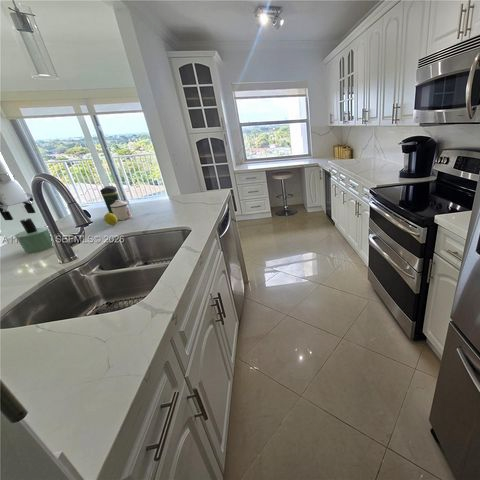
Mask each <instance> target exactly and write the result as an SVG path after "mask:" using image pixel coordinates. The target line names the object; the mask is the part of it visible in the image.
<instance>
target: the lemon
mask: <svg viewBox="0 0 480 480" xmlns="http://www.w3.org/2000/svg"><path fill="white" fill-rule="evenodd" d="M103 219H104V222H105V223H106V225H109V226H112V227H114V226H115V225H116V224H117V223H118V220H117V218H116V216H115V215H114V214H112V213H109V212H107V213H106V214H105V215H104V217H103Z"/></svg>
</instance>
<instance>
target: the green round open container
mask: <svg viewBox="0 0 480 480" xmlns="http://www.w3.org/2000/svg"><path fill="white" fill-rule="evenodd" d="M16 240H17V241H18V243H19V245H20V246H21V248H22V249H23V251H24V253H26V254H34V253H35V254H36V253H39V252H44V251H46V250H50V249H52V248H54V247H53V246H52V241H51V236H50V233H49V231H46V232H44V233H41V234H38V235H34V236H30V237H24V238H16Z"/></svg>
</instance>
